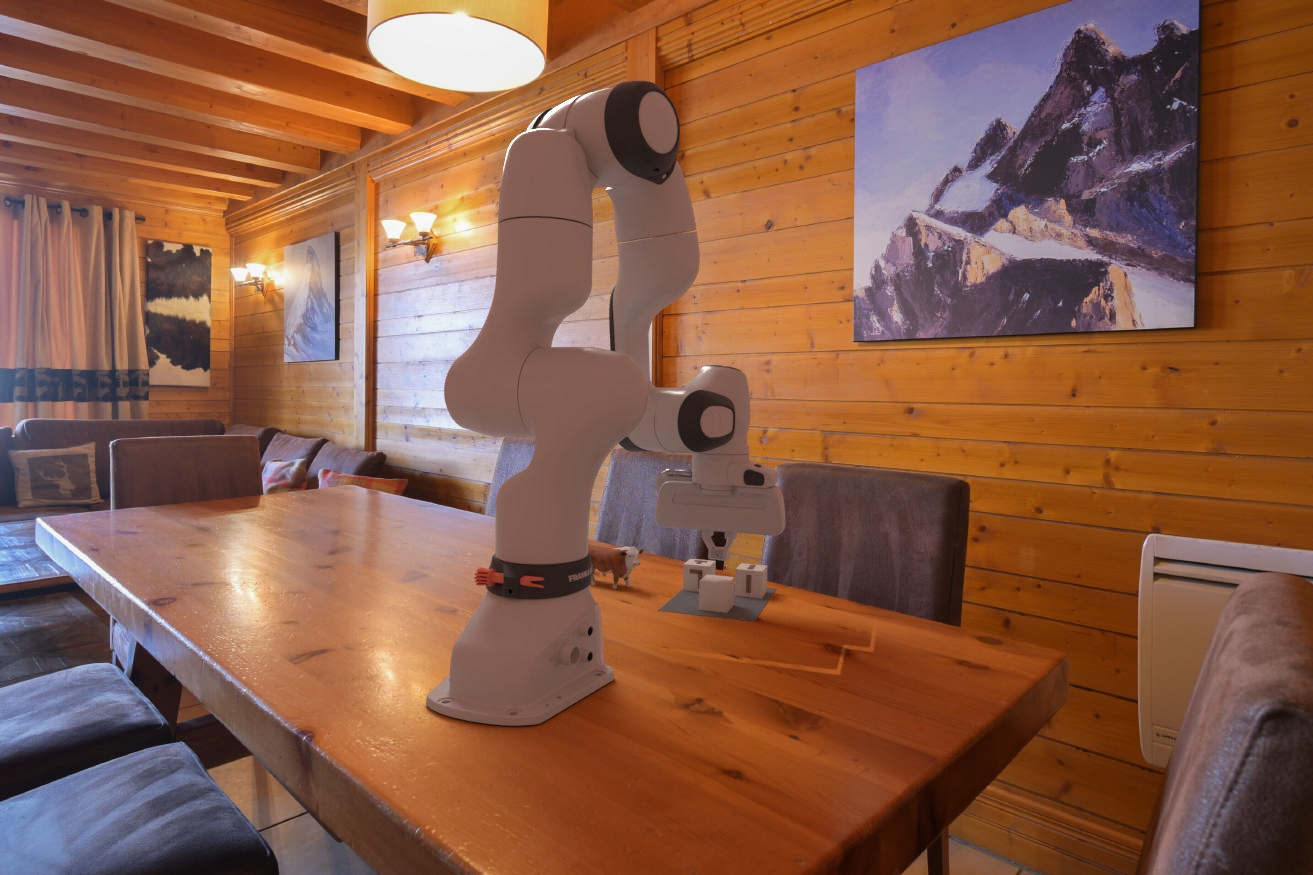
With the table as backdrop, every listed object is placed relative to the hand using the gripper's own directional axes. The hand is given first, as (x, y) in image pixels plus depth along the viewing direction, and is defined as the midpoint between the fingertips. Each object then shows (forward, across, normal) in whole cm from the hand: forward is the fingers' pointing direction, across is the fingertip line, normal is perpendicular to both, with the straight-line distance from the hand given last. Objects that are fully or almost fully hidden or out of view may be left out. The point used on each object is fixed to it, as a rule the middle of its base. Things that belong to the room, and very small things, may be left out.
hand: (718, 559), depth 115 cm
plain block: (+8, 0, 0) cm, 8 cm away
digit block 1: (+8, +3, +10) cm, 13 cm away
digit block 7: (+8, -6, +10) cm, 14 cm away
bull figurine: (+8, -20, +6) cm, 23 cm away
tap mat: (+8, -1, +5) cm, 9 cm away
